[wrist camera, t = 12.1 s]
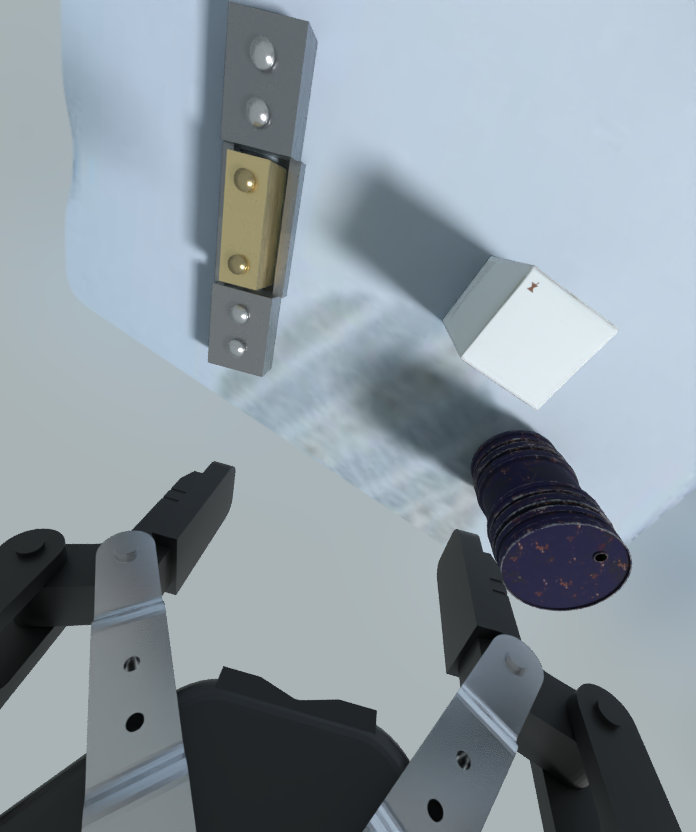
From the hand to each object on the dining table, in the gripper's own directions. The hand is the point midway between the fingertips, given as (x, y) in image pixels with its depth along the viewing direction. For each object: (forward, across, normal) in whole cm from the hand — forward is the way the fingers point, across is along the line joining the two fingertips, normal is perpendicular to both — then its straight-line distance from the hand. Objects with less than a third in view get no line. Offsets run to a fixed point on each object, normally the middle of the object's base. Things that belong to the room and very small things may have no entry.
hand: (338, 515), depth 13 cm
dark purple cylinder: (+28, -19, +11) cm, 36 cm away
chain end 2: (+28, +14, 0) cm, 31 cm away
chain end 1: (+28, +14, -14) cm, 34 cm away
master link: (+28, +14, -7) cm, 32 cm away
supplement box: (+28, -10, -5) cm, 30 cm away
